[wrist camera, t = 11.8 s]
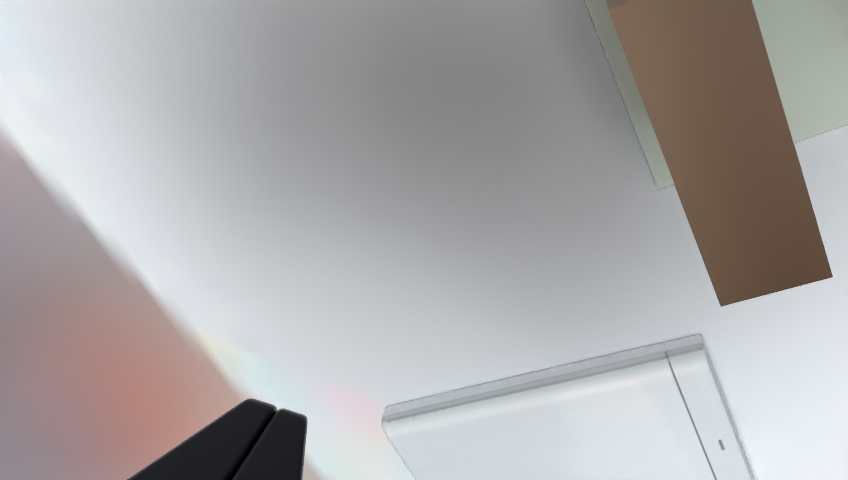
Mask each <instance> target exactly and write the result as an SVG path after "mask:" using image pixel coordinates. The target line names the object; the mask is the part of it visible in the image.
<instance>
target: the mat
mask: <svg viewBox="0 0 848 480" xmlns="http://www.w3.org/2000/svg"><path fill="white" fill-rule="evenodd" d="M584 2H585V4H586V7H587V9H588V12H589V14H590V17H591V19H592V22H593V25H594V27H595V30H596V32H597V35H598V37H599V40H600V42H601V45H602V48H603V50H604V53H605V55H606V58H607V60H608V63H609V65H610V68H611V70H612V73H613V76H614V78H615V81H616V83H617V86H618V88H619V91H620V93H621V96H622V99H623V101H624V104H625V106H626V109H627V111H628V114H629V116H630V119H631V122H632V124H633V127H634V129H635V132H636V134H637V137H638V139H639V142H640V144H641V147H642V150H643V152H644V155H645V157H646V160H647V162H648V165H649V167H650V170H651V173H652V175H653V178H654V180H655V183H656V185H657V188H658V190H660V189H663V188H666V187H669V186H672V185H675V184H674V182H673V179H672V176H671V174H670V171H669V169H668V166H667V163H666V161H665V158H664V155H663V153H662V150H661V148H660V145H659V142H658V140H657V137H656V134H655V132H654V129H653V126H652V124H651V121H650V119H649V116H648V113H647V111H646V108H645V105H644V103H643V100H642V98H641V95H640V92H639V90H638V87H637V84H636V82H635V79H634V76H633V74H632V71H631V69H630V66H629V63H628V61H627V58H626V55H625V53H624V50H623V47H622V45H621V42H620V40H619V37H618V34H617V32H616V29H615V26H614V24H613V21H612V19H611V16H610V13H609V10H608V5H607V1H606V0H584ZM752 3H753V6H754V10H755V13H756V16H757V20H758V23H759V27H760V30H761V34H762V37H763V40H764V44H765V47H766V51H767V54H768V57H769V61H770V64H771V68H772V71H773V75H774V78H775V81H776V85H777V88H778V92H779V95H780V98H781V102H782V105H783V109H784V112H785V115H786V119H787V122H788V126H789V129H790V133H791V136H792V139H793V143H796V142H799V141H802V140H805V139H808V138H811V137H814V136H816V135H819V134H822V133H825V132H828V131H831V130H834V129H837V128H840V127H843V126H845V125H848V0H752Z"/></svg>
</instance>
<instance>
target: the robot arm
mask: <svg viewBox="0 0 848 480" xmlns="http://www.w3.org/2000/svg"><path fill="white" fill-rule="evenodd" d="M306 433H307V417H306V416H305V415H302V414H299V413H296V412H293V411H290V410H287V409H279V410H278V411H277V408H276V406H274V405H272V404H268V403H265V402H262V401H259V400H256V399H247V400H245V401H243V402H241V403H240V404H238V405H237V406H235V407H234V408H232V409H231V410H230V411H228V412H227V413H225V414H224V415H222V416H221V417H219V418H218V419H216V420H215V421H213V422H212V423H211V424H209V425H207V426H206V427H204V428H203V429H201V430H200V431H198V432H197V433H195V434H194V435H193V436H191V437H190V438H188V439H187V440H185V441H184V442H182V443H181V444H179V445H178V446H176V447H175V448H173V449H172V450H170V451H169V452H167V453H166V454H164V455H163V456H161V457H160V458H158V459H157V460H156V461H154V462H153V463H151V464H150V465H148V466H147V467H145V468H144V469H142V470H141V471H139V472H138V473H136V474H135V475H134V476H132V477H130V478H129V479H127V480H302V476H303V465H304V454H305V444H306Z"/></svg>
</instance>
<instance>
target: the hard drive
mask: <svg viewBox="0 0 848 480" xmlns="http://www.w3.org/2000/svg"><path fill="white" fill-rule="evenodd" d="M382 427H383V430H384V432H385V434H386V436H387V437H388V439H389V441H390V442H391V444H392V445H393V447H394V448H395V450H396V451H397V453H398V454H399V456H400V457H401V459H402V460H403V462H404V464H405V465H406V467H407V468H408V470H409V471H410V473H411V474H412V475H413V477H414V478H415V480H754V478H753V475H752V472H751V469H750V467H749V464H748V461H747V459H746V456H745V453H744V450H743V448H742V445H741V442H740V440H739V437H738V434H737V431H736V429H735V426H734V423H733V420H732V418H731V415H730V412H729V410H728V407H727V405H726V402H725V399H724V396H723V394H722V391H721V388H720V386H719V383H718V380H717V378H716V375H715V372H714V369H713V367H712V364H711V361H710V359H709V356H708V353H707V350H706V348H705V345H704V342H703V339H702V336H701V334H698V335H693V336H689V337H684V338H680V339H676V340H671V341H667V342H663V343H658V344H654V345H649V346H645V347H640V348H636V349H632V350H627V351H623V352H619V353H614V354H610V355H606V356H601V357H597V358H593V359H588V360H584V361H580V362H575V363H571V364H567V365H562V366H558V367H554V368H549V369H545V370H541V371H536V372H532V373H528V374H524V375H519V376H515V377H511V378H506V379H502V380H498V381H494V382H489V383H485V384H481V385H476V386H472V387H468V388H463V389H459V390H455V391H450V392H446V393H442V394H437V395H433V396H429V397H425V398H420V399H416V400H412V401H408V402H403V403H399V404H395V405H390V406H387V407H386V409H385V412H384V414H383V417H382Z"/></svg>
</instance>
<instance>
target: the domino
mask: <svg viewBox="0 0 848 480" xmlns="http://www.w3.org/2000/svg"><path fill="white" fill-rule="evenodd" d="M606 1H607V5H608V10H609V13H610V16H611V19H612V21H613V24H614V26H615V29H616V32H617V34H618V37H619V40H620V42H621V45H622V47H623V50H624V53H625V55H626V58H627V61H628V63H629V66H630V69H631V71H632V74H633V76H634V79H635V82H636V84H637V87H638V90H639V92H640V95H641V98H642V100H643V103H644V105H645V108H646V111H647V113H648V116H649V119H650V121H651V124H652V126H653V129H654V132H655V134H656V137H657V140H658V142H659V145H660V148H661V150H662V153H663V155H664V158H665V161H666V163H667V166H668V169H669V171H670V174H671V176H672V179H673V182H674V184H675V187H676V190H677V192H678V195H679V198H680V200H681V203H682V205H683V208H684V211H685V213H686V216H687V219H688V221H689V224H690V227H691V229H692V232H693V234H694V237H695V240H696V242H697V245H698V248H699V250H700V253H701V255H702V258H703V261H704V263H705V266H706V269H707V271H708V274H709V277H710V279H711V282H712V284H713V287H714V290H715V292H716V295H717V298H718V300H719V303H720V305H721V306H725V305H728V304H732V303H736V302H740V301H744V300H747V299H751V298H755V297H759V296H763V295H766V294H770V293H774V292H778V291H782V290H785V289H789V288H793V287H797V286H801V285H804V284H808V283H812V282H816V281H820V280H823V279H827V278H831V277H833V276H832V273H831V269H830V266H829V262H828V259H827V255H826V252H825V249H824V245H823V242H822V238H821V235H820V232H819V228H818V225H817V221H816V218H815V214H814V211H813V208H812V204H811V201H810V197H809V194H808V191H807V187H806V184H805V180H804V177H803V174H802V170H801V167H800V163H799V160H798V156H797V153H796V150H795V146H794V143H793V139H792V136H791V133H790V129H789V126H788V122H787V119H786V115H785V112H784V109H783V105H782V102H781V98H780V95H779V92H778V88H777V85H776V81H775V78H774V75H773V71H772V68H771V64H770V61H769V57H768V54H767V51H766V47H765V44H764V40H763V37H762V34H761V30H760V27H759V23H758V20H757V16H756V13H755V10H754V6H753V3H752V0H606Z"/></svg>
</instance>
